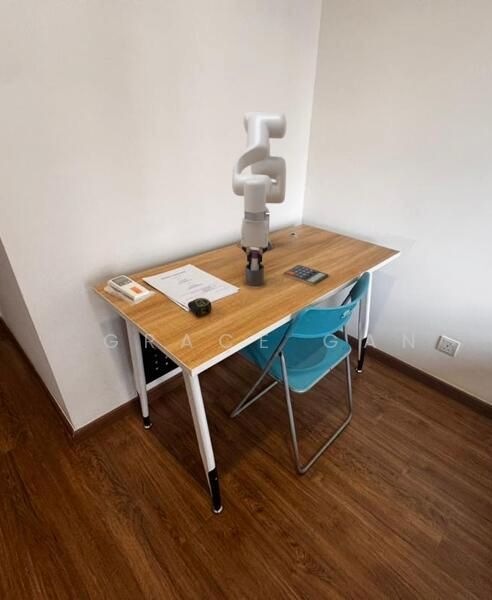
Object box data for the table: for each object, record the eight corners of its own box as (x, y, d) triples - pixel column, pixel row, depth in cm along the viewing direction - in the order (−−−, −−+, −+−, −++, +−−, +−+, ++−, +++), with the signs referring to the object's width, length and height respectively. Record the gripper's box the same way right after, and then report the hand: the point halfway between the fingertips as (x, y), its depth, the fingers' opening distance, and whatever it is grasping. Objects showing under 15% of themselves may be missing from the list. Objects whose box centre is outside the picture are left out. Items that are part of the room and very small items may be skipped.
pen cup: (241, 285, 126) (241, 267, 122) (252, 278, 131) (252, 261, 128) (257, 290, 123) (257, 272, 119) (267, 283, 128) (267, 265, 124)
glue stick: (249, 282, 126) (249, 251, 120) (253, 280, 128) (253, 249, 122) (255, 284, 125) (255, 253, 118) (260, 282, 127) (260, 251, 121)
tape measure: (187, 310, 109) (186, 300, 107) (206, 304, 112) (205, 295, 110) (195, 319, 104) (194, 309, 102) (215, 313, 107) (214, 303, 105)
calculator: (298, 264, 143) (328, 273, 135) (298, 266, 143) (328, 275, 135) (283, 272, 135) (313, 283, 127) (283, 274, 135) (313, 285, 127)
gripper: (278, 213, 117) (276, 260, 126) (233, 212, 117) (234, 259, 126) (277, 219, 110) (275, 268, 119) (230, 217, 110) (232, 266, 119)
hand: (254, 263), depth 123 cm, fingers closed on glue stick, 3 cm apart
